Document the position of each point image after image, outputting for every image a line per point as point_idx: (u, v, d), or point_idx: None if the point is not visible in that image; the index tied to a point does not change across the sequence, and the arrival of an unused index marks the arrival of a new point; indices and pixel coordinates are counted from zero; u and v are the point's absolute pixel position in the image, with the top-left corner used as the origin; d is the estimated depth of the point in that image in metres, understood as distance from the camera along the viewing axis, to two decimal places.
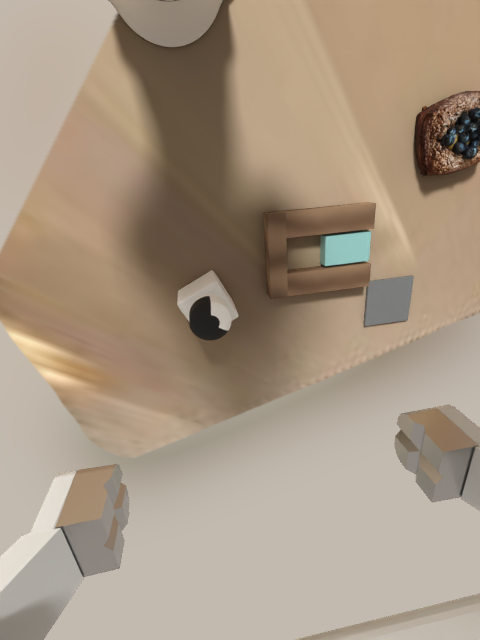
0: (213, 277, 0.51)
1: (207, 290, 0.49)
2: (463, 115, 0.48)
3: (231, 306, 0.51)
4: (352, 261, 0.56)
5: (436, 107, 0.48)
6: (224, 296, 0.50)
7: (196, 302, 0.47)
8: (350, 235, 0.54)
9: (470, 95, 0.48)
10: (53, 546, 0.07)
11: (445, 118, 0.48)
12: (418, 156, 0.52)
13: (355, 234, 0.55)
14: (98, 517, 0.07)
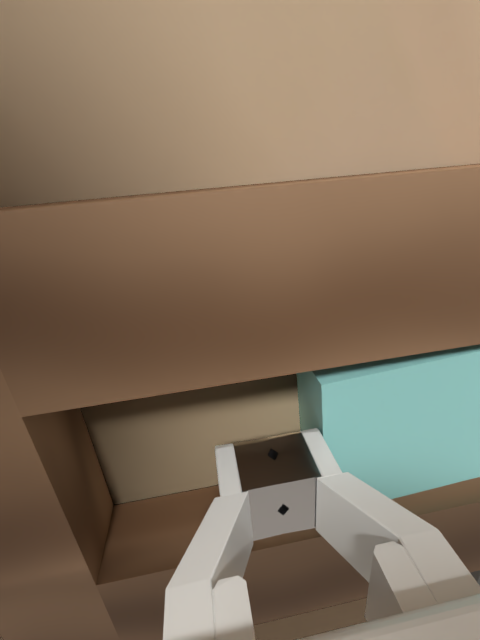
0: None
1: None
2: None
3: None
4: (471, 474, 0.11)
5: None
6: None
7: None
8: (477, 360, 0.09)
9: None
10: (244, 508, 0.07)
11: None
12: None
13: None
14: (279, 482, 0.07)
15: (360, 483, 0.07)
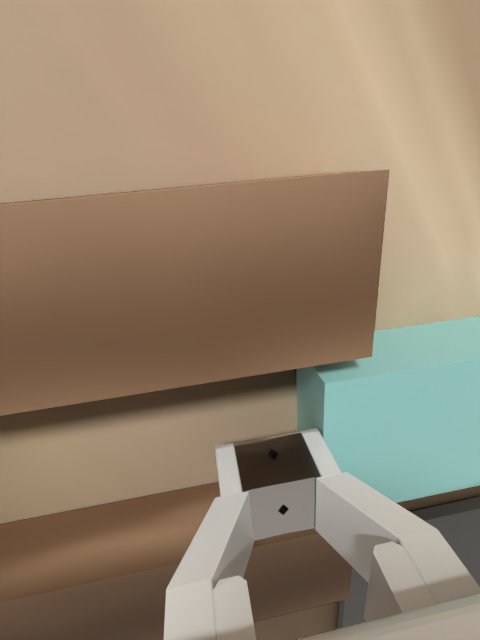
0: None
1: None
2: None
3: None
4: (467, 483, 0.11)
5: None
6: None
7: None
8: None
9: None
10: (245, 508, 0.07)
11: None
12: None
13: None
14: (279, 482, 0.07)
15: (359, 483, 0.07)
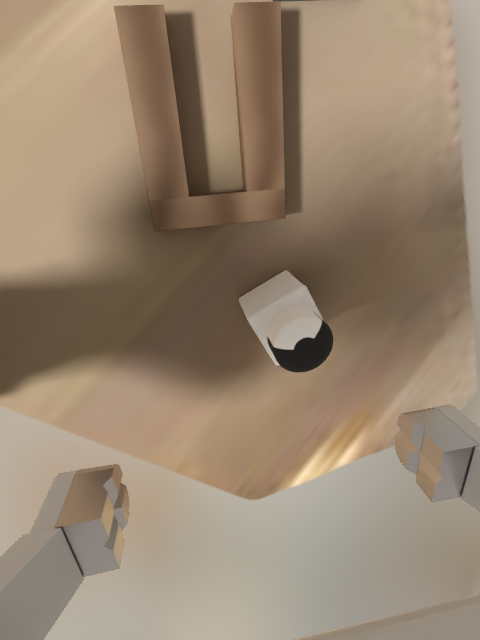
0: (244, 313, 0.36)
1: (260, 331, 0.35)
2: None
3: (288, 296, 0.34)
4: None
5: None
6: (271, 307, 0.34)
7: None
8: None
9: None
10: (53, 546, 0.07)
11: None
12: None
13: None
14: (98, 517, 0.07)
15: None
